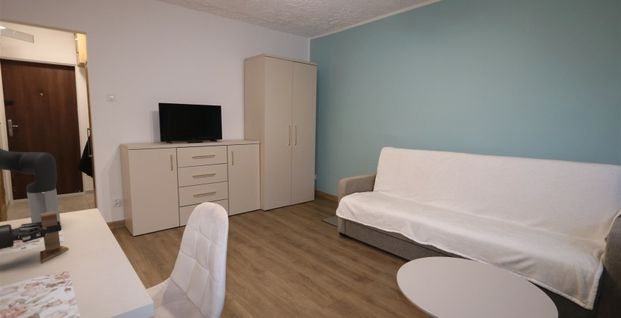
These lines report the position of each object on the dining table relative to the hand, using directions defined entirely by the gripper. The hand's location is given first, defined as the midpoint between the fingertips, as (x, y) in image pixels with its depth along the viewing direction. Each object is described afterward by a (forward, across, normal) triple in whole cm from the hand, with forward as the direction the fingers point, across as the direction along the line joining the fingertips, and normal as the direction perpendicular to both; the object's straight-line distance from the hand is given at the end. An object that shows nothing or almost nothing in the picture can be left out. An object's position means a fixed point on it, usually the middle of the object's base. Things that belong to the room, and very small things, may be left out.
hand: (60, 225), depth 110 cm
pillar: (-3, 0, +7) cm, 8 cm away
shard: (-2, 0, +11) cm, 11 cm away
